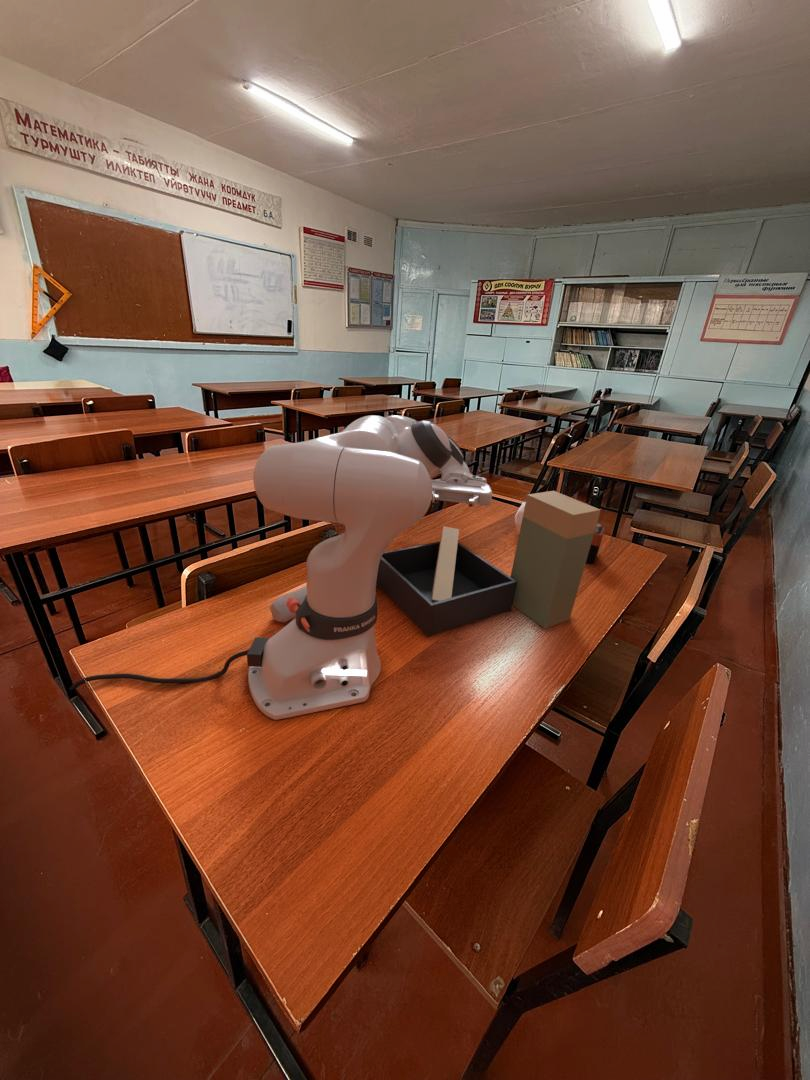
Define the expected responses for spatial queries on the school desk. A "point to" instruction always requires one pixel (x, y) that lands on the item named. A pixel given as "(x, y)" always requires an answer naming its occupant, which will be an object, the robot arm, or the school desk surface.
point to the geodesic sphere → (519, 517)
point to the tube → (280, 608)
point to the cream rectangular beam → (445, 565)
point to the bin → (473, 589)
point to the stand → (551, 555)
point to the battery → (595, 544)
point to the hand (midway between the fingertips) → (453, 502)
